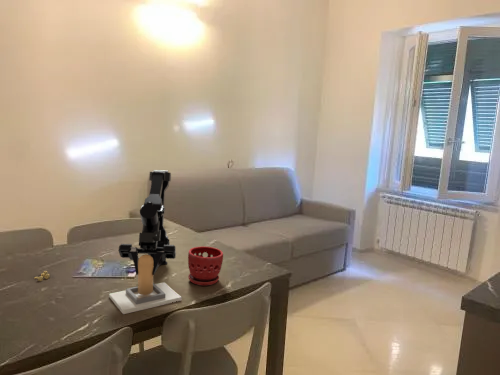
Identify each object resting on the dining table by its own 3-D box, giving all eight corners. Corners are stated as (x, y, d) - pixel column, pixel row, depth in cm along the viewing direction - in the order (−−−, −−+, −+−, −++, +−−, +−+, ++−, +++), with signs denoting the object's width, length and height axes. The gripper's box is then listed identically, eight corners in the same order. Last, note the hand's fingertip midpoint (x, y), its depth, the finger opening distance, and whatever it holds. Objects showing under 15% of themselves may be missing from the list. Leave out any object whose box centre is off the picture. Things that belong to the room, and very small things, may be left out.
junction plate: (164, 285, 150) (164, 278, 150) (181, 300, 139) (181, 292, 139) (109, 297, 139) (109, 289, 138) (123, 314, 128) (123, 306, 127)
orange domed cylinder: (144, 287, 142) (144, 251, 140) (156, 290, 140) (156, 254, 138) (134, 292, 137) (134, 255, 135) (146, 295, 135) (147, 258, 133)
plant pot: (194, 290, 148) (195, 258, 146) (182, 277, 159) (183, 247, 157) (227, 285, 154) (228, 254, 152) (213, 272, 165) (215, 244, 163)
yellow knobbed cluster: (46, 275, 155) (46, 270, 154) (53, 279, 152) (52, 274, 151) (32, 279, 151) (32, 274, 150) (39, 283, 148) (38, 278, 147)
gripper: (119, 220, 137) (112, 264, 129) (176, 222, 139) (172, 265, 131) (124, 236, 146) (117, 277, 138) (177, 237, 148) (173, 278, 140)
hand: (145, 274), depth 136 cm, fingers closed on orange domed cylinder, 5 cm apart
